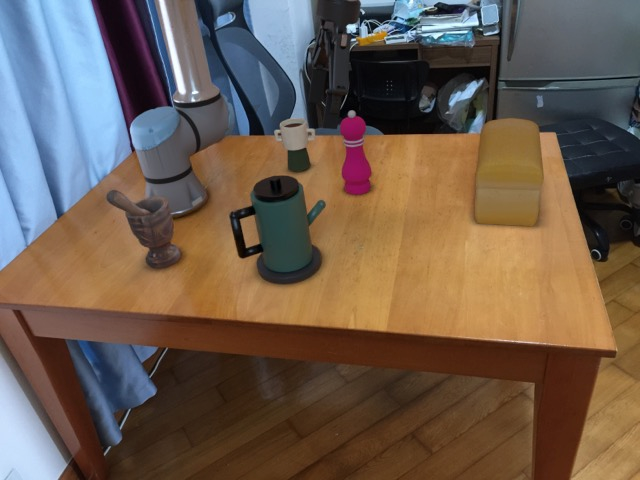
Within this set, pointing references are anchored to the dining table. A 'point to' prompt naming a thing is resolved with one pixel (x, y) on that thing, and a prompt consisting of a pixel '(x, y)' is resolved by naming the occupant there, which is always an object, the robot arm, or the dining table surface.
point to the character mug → (295, 142)
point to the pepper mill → (355, 155)
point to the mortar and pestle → (150, 226)
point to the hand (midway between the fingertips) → (321, 114)
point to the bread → (508, 173)
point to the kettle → (278, 224)
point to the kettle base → (293, 275)
